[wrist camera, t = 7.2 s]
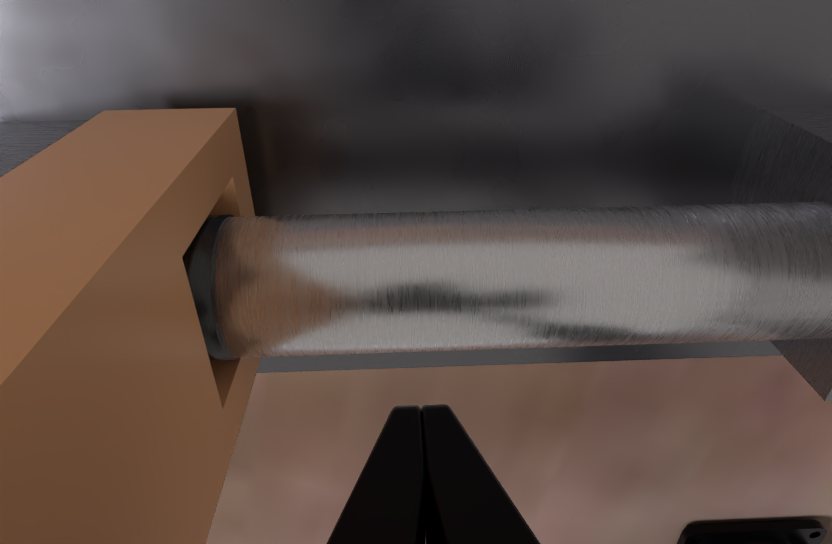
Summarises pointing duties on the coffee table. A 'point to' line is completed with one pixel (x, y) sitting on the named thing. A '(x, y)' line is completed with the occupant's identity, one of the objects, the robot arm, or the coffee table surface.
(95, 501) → the tan rectangular block
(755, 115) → the pipe stand
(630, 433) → the coffee table surface
